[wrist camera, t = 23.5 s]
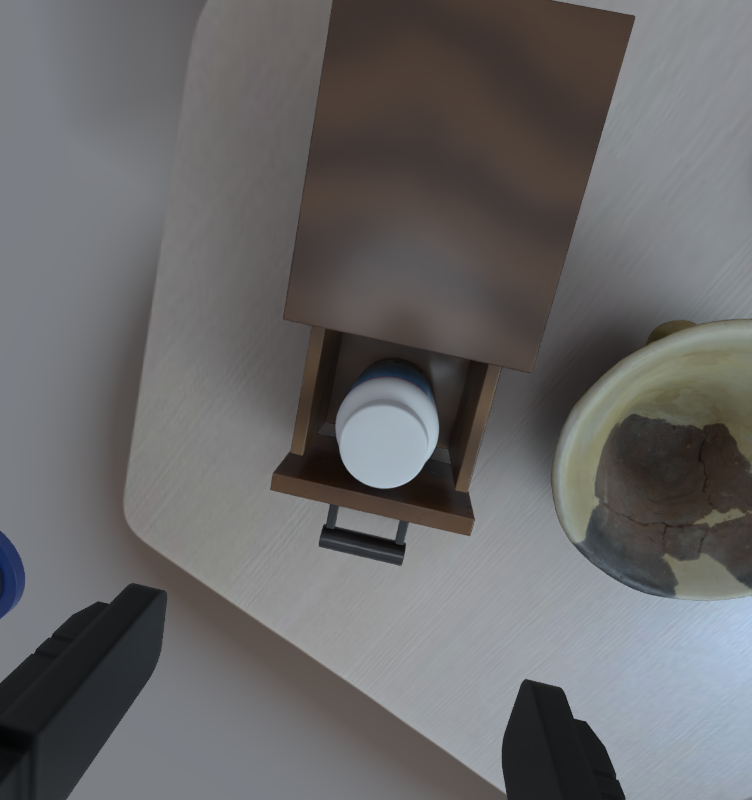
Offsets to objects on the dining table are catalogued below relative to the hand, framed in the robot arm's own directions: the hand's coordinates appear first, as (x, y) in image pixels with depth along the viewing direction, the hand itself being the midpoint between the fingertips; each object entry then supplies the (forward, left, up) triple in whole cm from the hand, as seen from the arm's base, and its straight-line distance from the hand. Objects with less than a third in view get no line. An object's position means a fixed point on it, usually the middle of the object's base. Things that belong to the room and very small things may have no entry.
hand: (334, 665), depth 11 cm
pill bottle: (0, 0, -26) cm, 26 cm away
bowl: (+19, +1, -28) cm, 34 cm away
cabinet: (0, +13, -28) cm, 31 cm away
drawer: (0, 0, -27) cm, 27 cm away
